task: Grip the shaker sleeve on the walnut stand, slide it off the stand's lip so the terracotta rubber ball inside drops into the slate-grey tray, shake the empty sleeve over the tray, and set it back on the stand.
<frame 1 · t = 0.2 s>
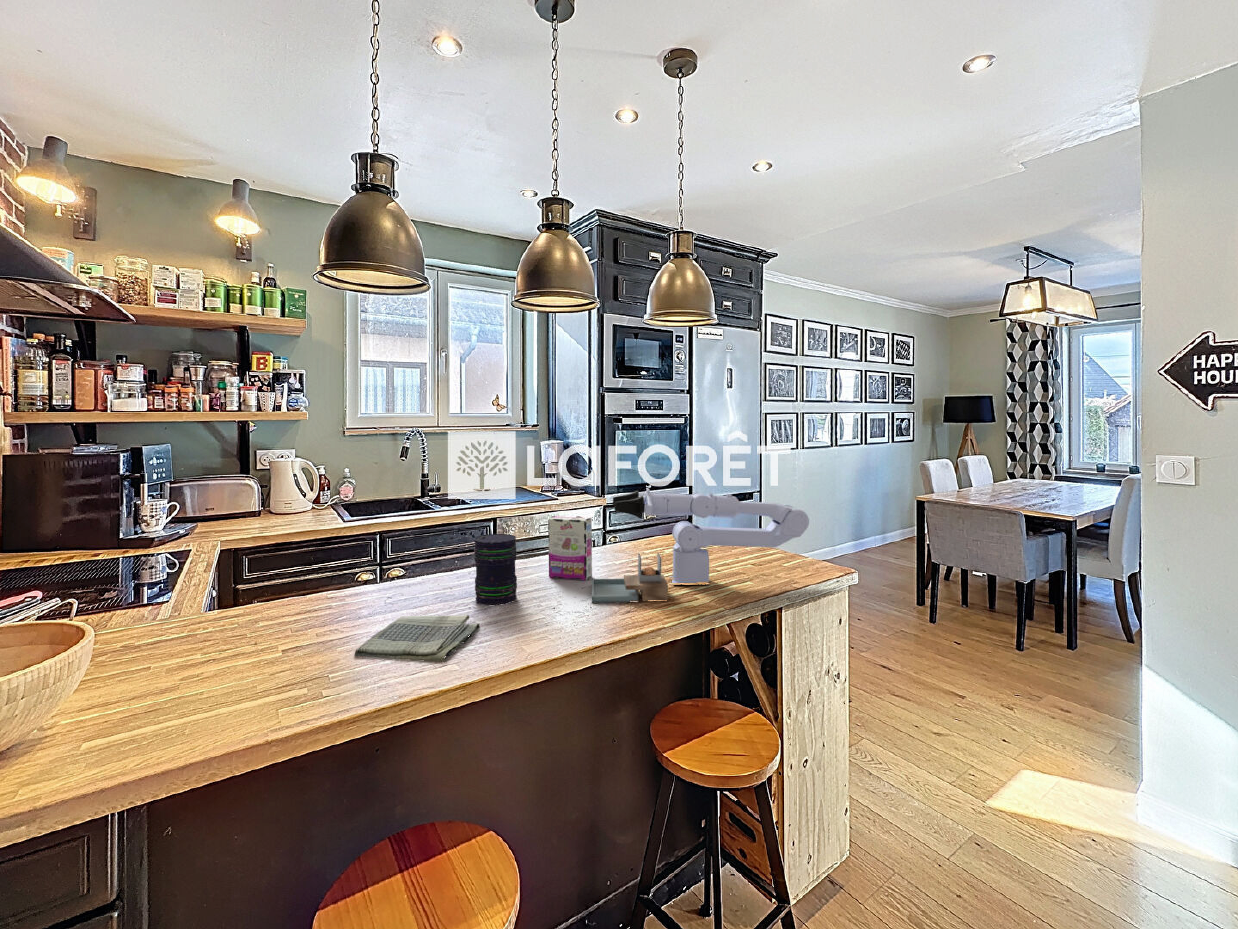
hand: (613, 503, 152), 21 cm above the counter, tool horizontal, fingers open, 7 cm apart
storage jar: (496, 600, 140), on the counter
dish towel: (422, 644, 114), on the counter
tray: (614, 593, 145), on the counter
ball: (649, 573, 142), point 6 cm above the counter, touching stand
stand: (649, 596, 143), on the counter
candy bar box: (570, 577, 160), on the counter
sleeve: (649, 580, 142), point 4 cm above the counter, touching stand
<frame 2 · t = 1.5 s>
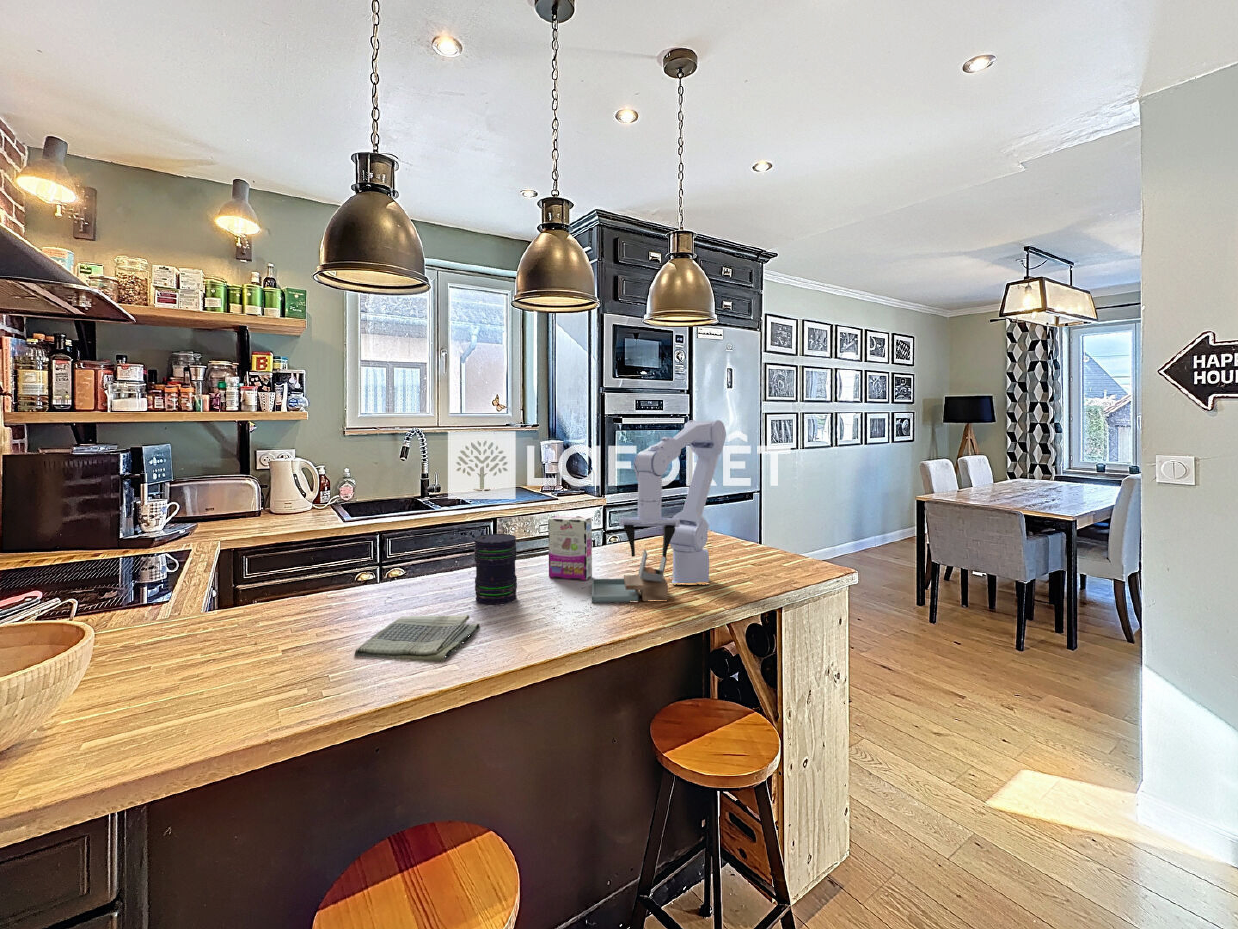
hand: (648, 555, 142), 10 cm above the counter, tool pointing down, fingers open, 7 cm apart
sleeve: (649, 577, 142), point 5 cm above the counter, tilted 13°, touching stand
everything else where it was.
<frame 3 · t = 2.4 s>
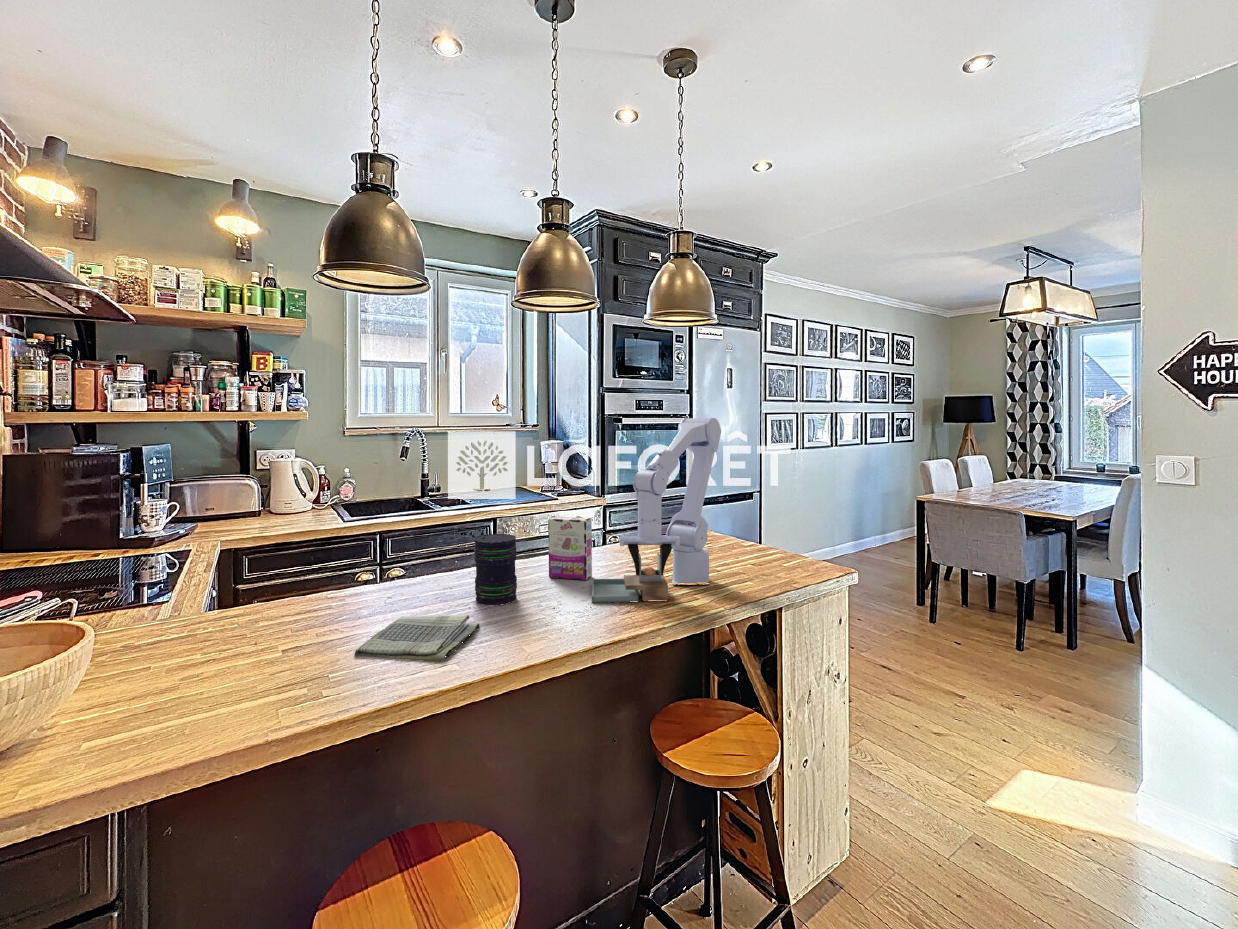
hand: (649, 574, 142), 5 cm above the counter, tool pointing down, fingers closed on sleeve, 5 cm apart
sleeve: (649, 580, 142), point 4 cm above the counter, touching gripper, stand
everything else where it was.
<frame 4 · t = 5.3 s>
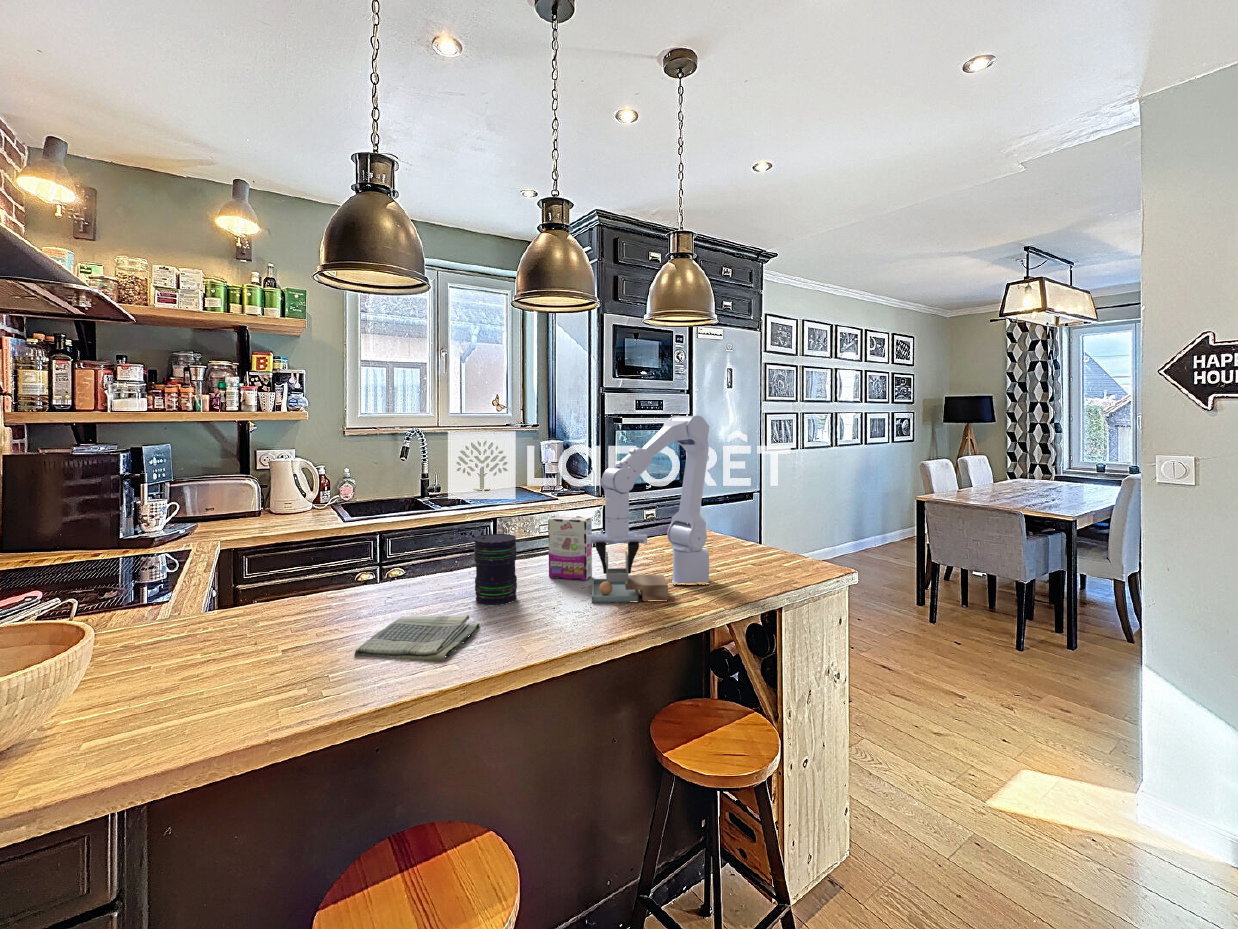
hand: (616, 572, 142), 6 cm above the counter, tool pointing down, fingers closed on sleeve, 5 cm apart
ball: (605, 588, 142), point 2 cm above the counter, tilted 47°, touching tray
sleeve: (617, 578, 142), point 5 cm above the counter, touching gripper
everything else where it was.
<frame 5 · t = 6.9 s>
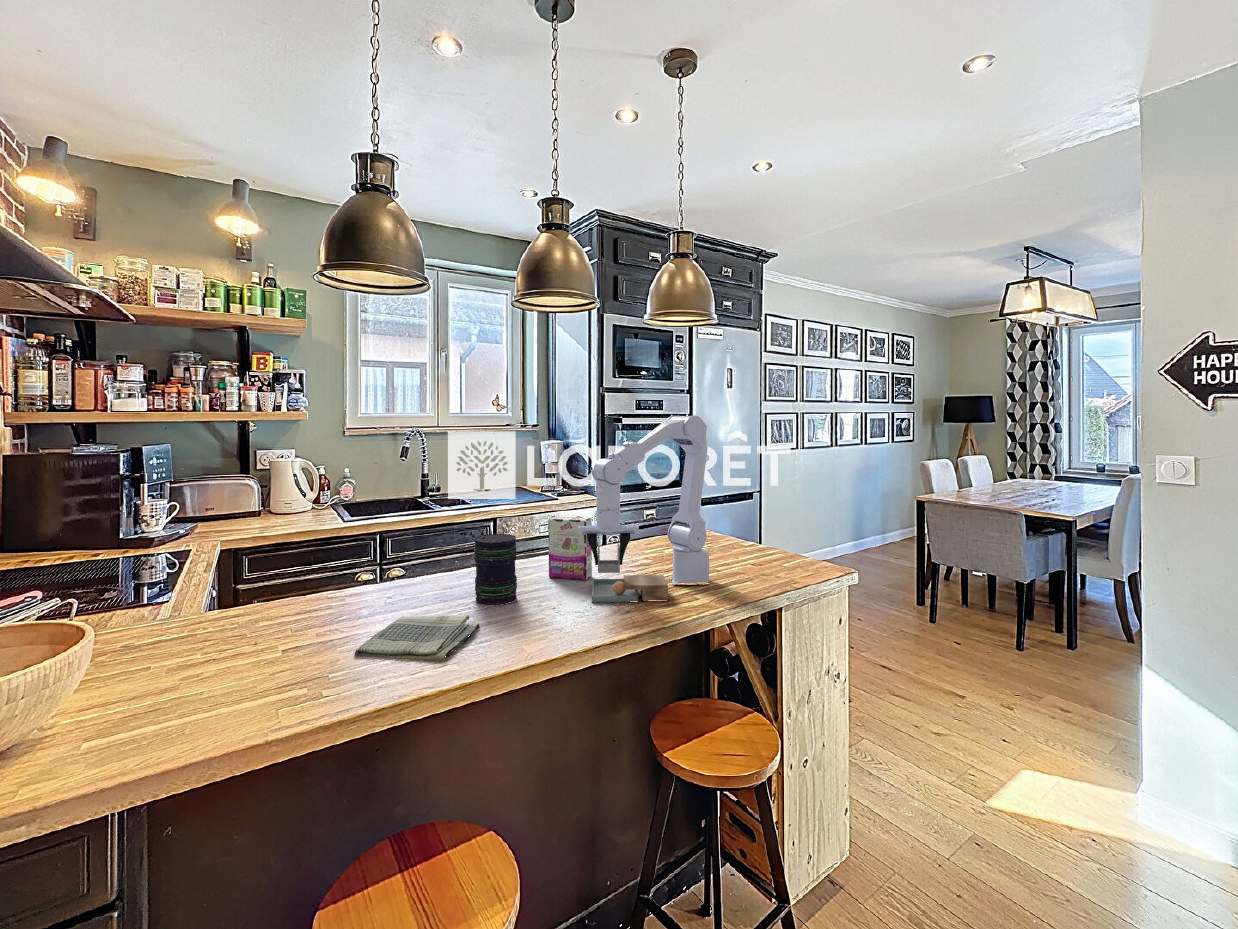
hand: (608, 564, 142), 8 cm above the counter, tool pointing down, fingers closed on sleeve, 5 cm apart
ball: (619, 587, 142), point 2 cm above the counter, tilted 66°, touching stand, tray
sleeve: (608, 570, 142), point 7 cm above the counter, touching gripper
everything else where it was.
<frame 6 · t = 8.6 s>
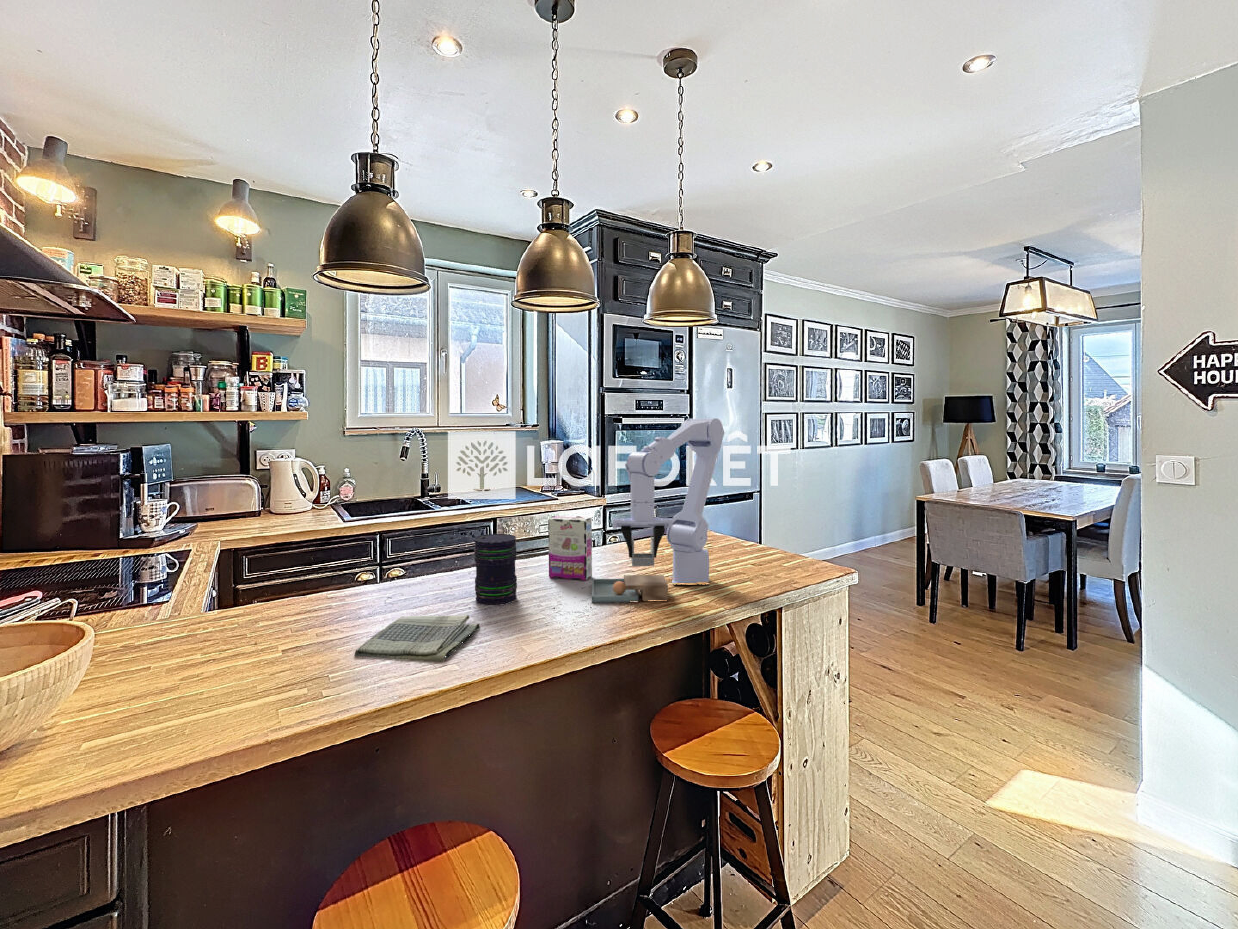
hand: (642, 556, 142), 10 cm above the counter, tool pointing down, fingers closed on sleeve, 5 cm apart
sleeve: (642, 563, 142), point 8 cm above the counter, touching gripper
everything else where it was.
when the fingers open (7 cm above the counter, at t = 9.8 s): sleeve drops 1 cm, resting on stand.
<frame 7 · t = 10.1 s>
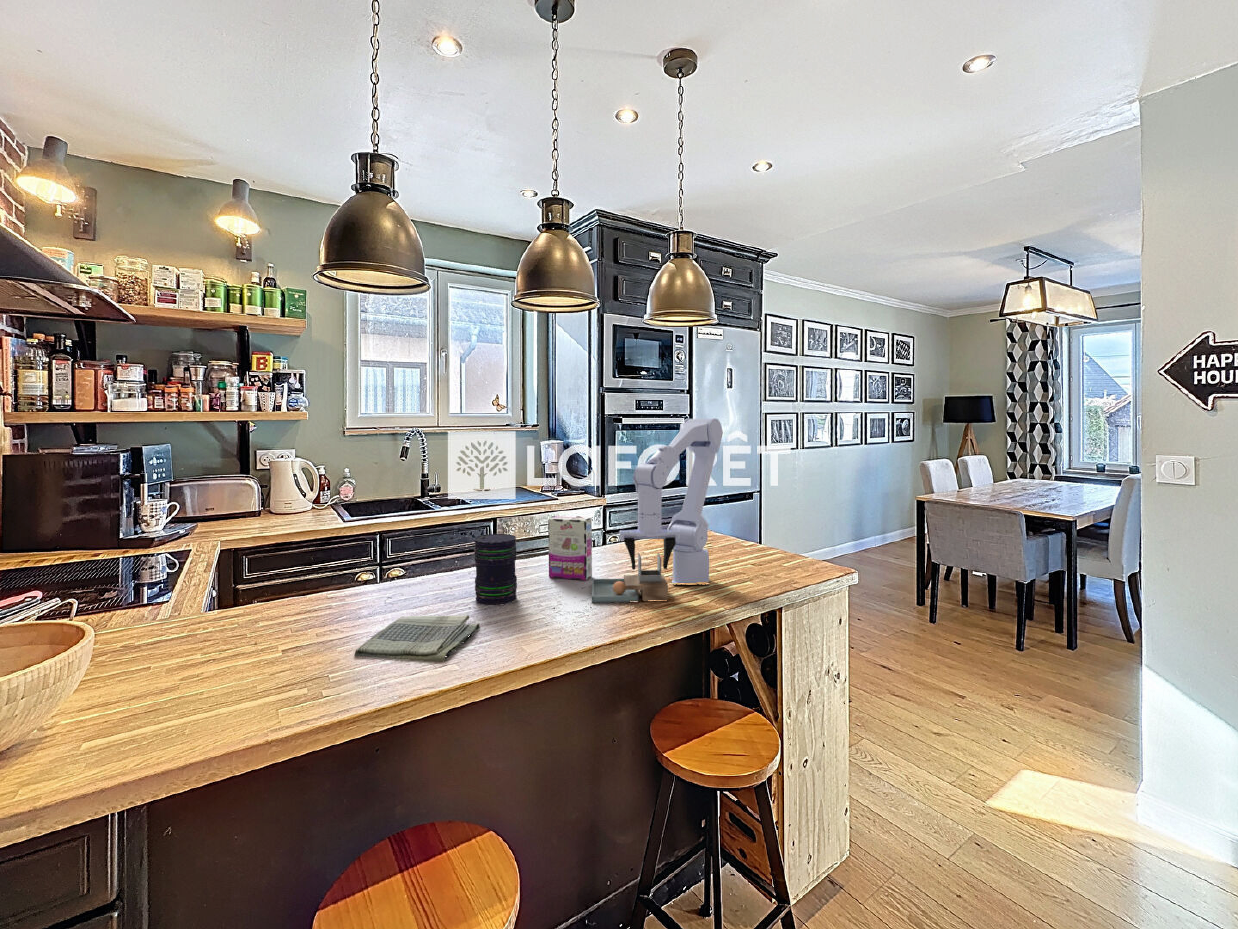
hand: (649, 568, 142), 7 cm above the counter, tool pointing down, fingers open, 7 cm apart
sleeve: (649, 580, 142), point 4 cm above the counter, touching stand
everything else where it was.
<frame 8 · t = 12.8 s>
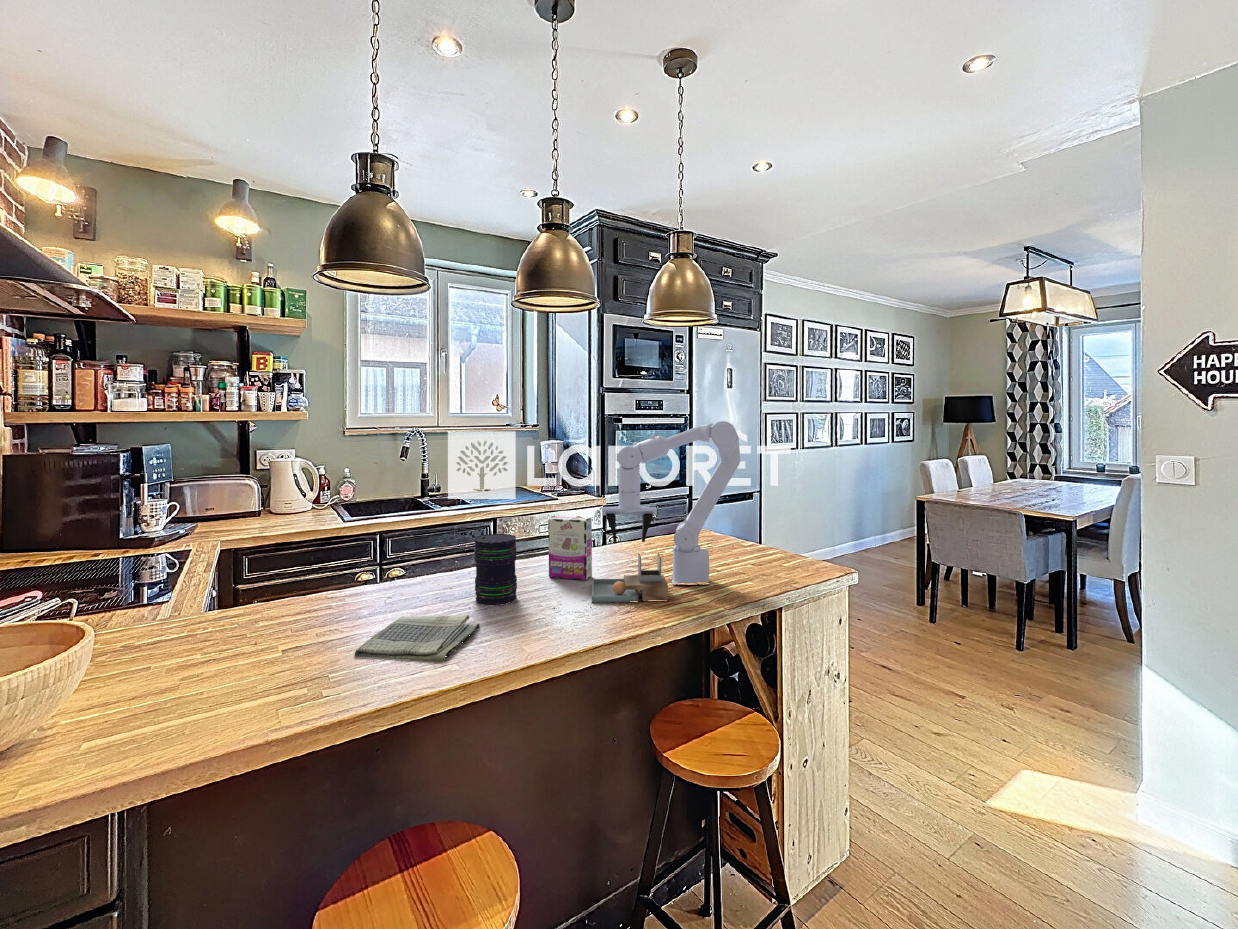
hand: (629, 541, 157), 10 cm above the counter, tool pointing down, fingers open, 7 cm apart
nothing on the counter moved.
at the end: ball inside the target area on the tray (2.7 cm from its centre), point 2.1 cm above the tray's base; sleeve inside the target area on the stand (1.0 cm from its centre), point 4.0 cm above the stand's base; sleeve tilted 0° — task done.
